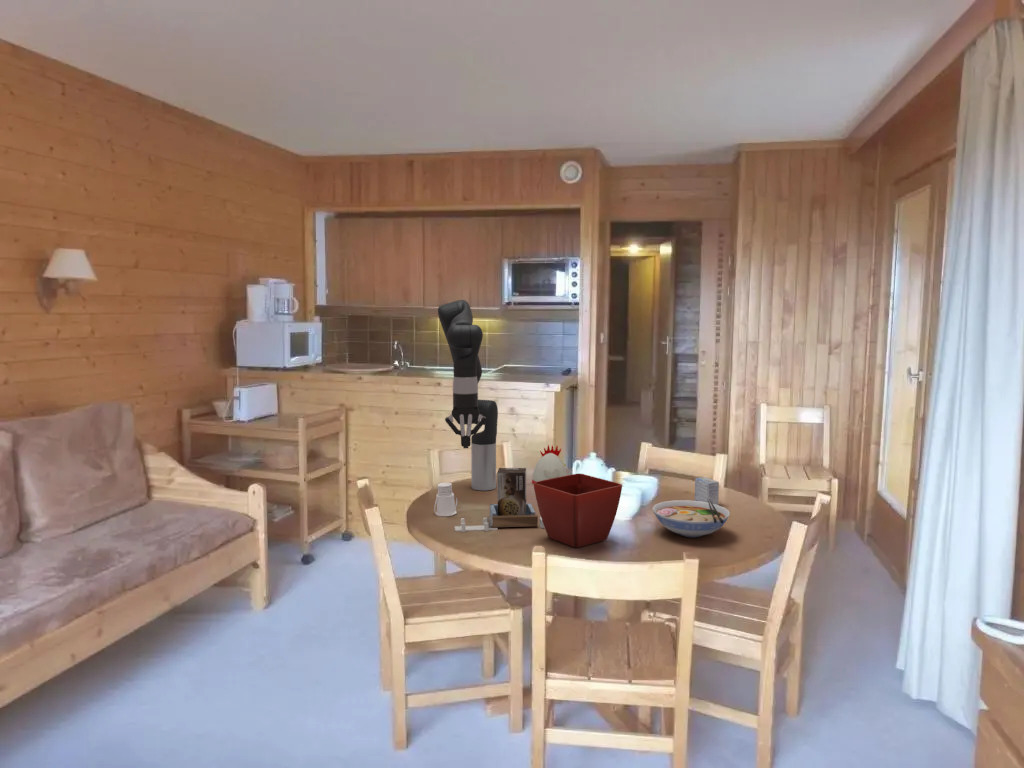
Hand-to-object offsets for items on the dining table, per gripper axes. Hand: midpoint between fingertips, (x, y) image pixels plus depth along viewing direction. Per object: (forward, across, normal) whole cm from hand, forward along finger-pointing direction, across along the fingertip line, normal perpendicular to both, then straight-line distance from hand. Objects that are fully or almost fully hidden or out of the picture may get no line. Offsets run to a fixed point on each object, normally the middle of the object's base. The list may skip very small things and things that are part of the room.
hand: (465, 447), depth 223 cm
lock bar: (+25, +15, 0) cm, 29 cm away
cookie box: (+25, +15, +7) cm, 30 cm away
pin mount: (+25, +10, 0) cm, 27 cm away
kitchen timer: (+26, +35, +54) cm, 70 cm away
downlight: (+26, -6, +17) cm, 32 cm away
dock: (+26, +15, +7) cm, 30 cm away
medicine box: (+26, +84, +19) cm, 90 cm away
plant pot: (+26, +32, -13) cm, 43 cm away
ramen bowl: (+26, +67, -12) cm, 73 cm away
